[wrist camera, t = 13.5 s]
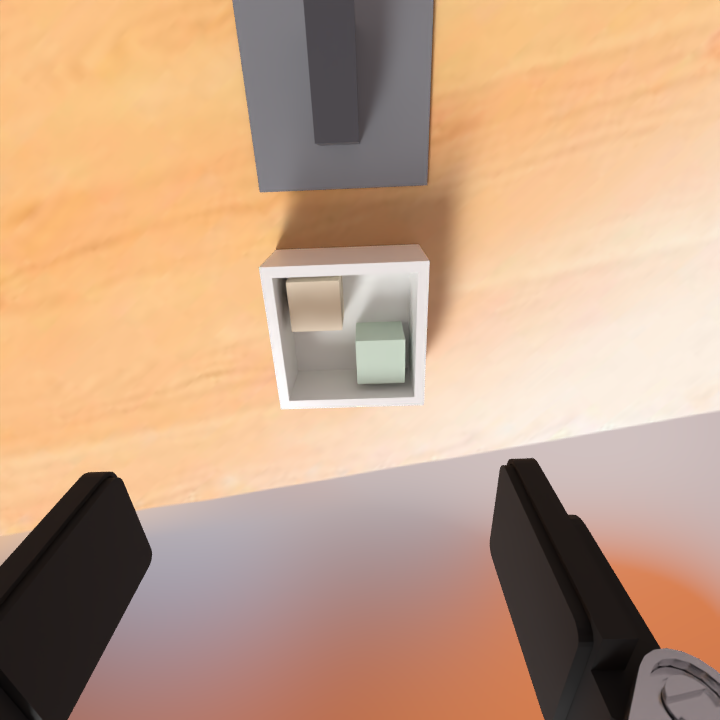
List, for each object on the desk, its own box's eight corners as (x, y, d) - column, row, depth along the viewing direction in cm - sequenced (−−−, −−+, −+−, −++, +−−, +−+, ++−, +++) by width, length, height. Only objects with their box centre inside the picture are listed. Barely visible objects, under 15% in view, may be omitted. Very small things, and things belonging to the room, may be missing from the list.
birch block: (293, 269, 33) (285, 282, 30) (341, 267, 33) (339, 280, 30) (299, 314, 35) (291, 331, 32) (344, 312, 35) (342, 330, 31)
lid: (232, -25, 26) (199, -72, 21) (432, -36, 26) (450, -86, 20) (262, 191, 32) (242, 198, 27) (425, 184, 32) (438, 190, 26)
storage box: (275, 249, 33) (259, 267, 28) (418, 244, 33) (429, 260, 28) (292, 374, 39) (281, 409, 33) (415, 370, 39) (423, 404, 33)
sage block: (356, 322, 35) (355, 341, 32) (401, 321, 35) (405, 339, 32) (357, 362, 37) (357, 384, 34) (400, 361, 37) (404, 382, 34)
